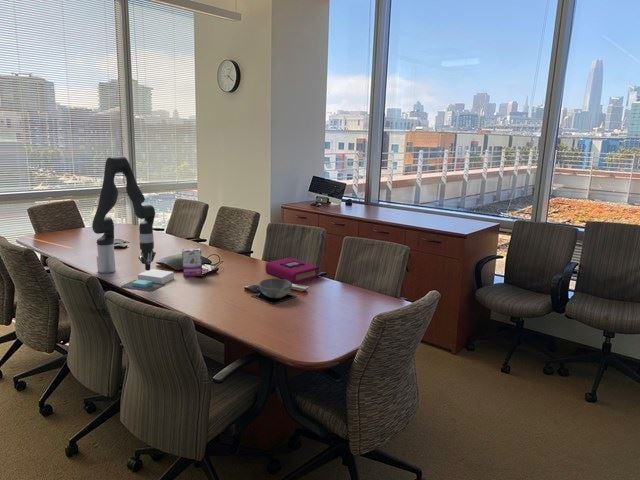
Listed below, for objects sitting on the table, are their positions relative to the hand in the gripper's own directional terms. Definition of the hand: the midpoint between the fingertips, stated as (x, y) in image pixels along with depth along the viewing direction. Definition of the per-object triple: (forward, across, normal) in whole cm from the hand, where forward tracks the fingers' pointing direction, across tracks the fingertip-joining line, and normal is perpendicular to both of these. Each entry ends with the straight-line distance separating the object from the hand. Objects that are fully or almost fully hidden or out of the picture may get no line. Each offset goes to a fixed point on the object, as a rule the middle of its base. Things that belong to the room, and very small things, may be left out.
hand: (147, 270), depth 271 cm
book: (+8, -46, +71) cm, 85 cm away
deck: (+8, -7, 0) cm, 10 cm away
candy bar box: (+8, -22, +15) cm, 28 cm away
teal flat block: (+5, +6, 0) cm, 8 cm away
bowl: (+7, -7, +75) cm, 76 cm away
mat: (+8, +6, 0) cm, 10 cm away
